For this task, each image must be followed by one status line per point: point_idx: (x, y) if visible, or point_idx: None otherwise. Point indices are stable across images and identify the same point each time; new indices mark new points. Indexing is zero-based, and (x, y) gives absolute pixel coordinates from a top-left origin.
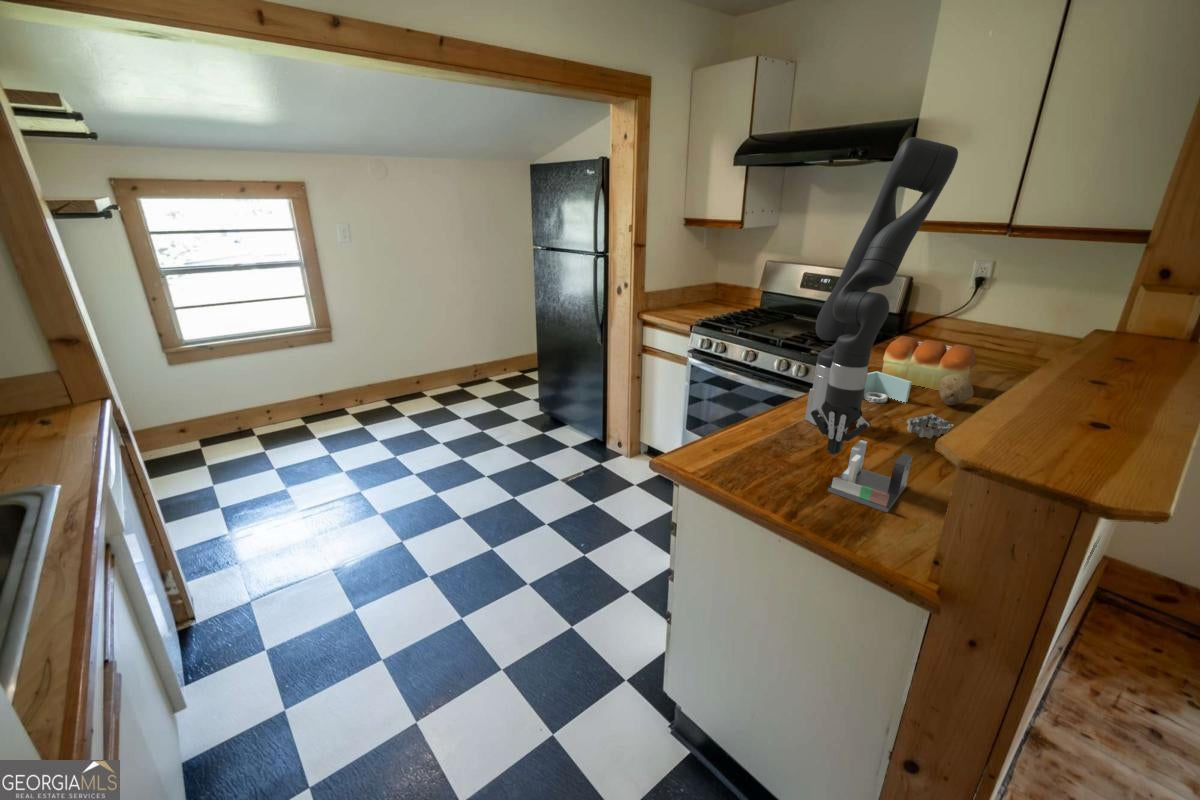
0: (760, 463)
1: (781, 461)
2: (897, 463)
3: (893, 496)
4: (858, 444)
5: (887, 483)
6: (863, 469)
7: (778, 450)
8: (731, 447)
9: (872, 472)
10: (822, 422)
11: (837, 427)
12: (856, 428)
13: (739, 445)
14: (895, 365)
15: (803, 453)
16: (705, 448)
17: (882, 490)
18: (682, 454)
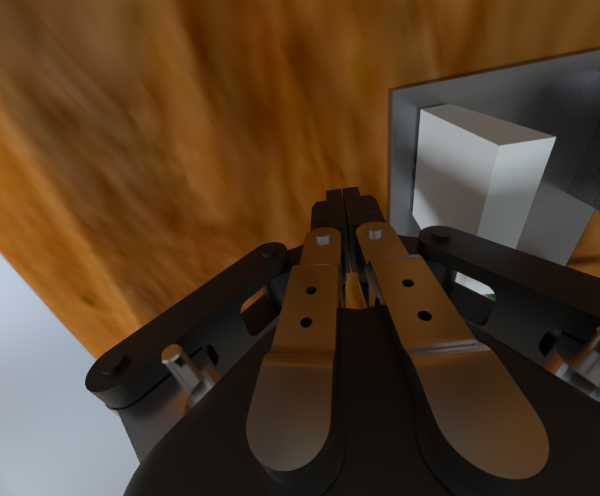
0: (192, 282)
1: (207, 236)
2: None
3: (585, 209)
4: (490, 229)
5: (571, 130)
6: (455, 84)
7: (135, 179)
8: (80, 267)
9: (500, 77)
10: (247, 339)
11: (341, 285)
12: (527, 331)
13: (70, 243)
14: None
15: (190, 122)
16: (75, 309)
17: (545, 200)
18: (97, 348)
